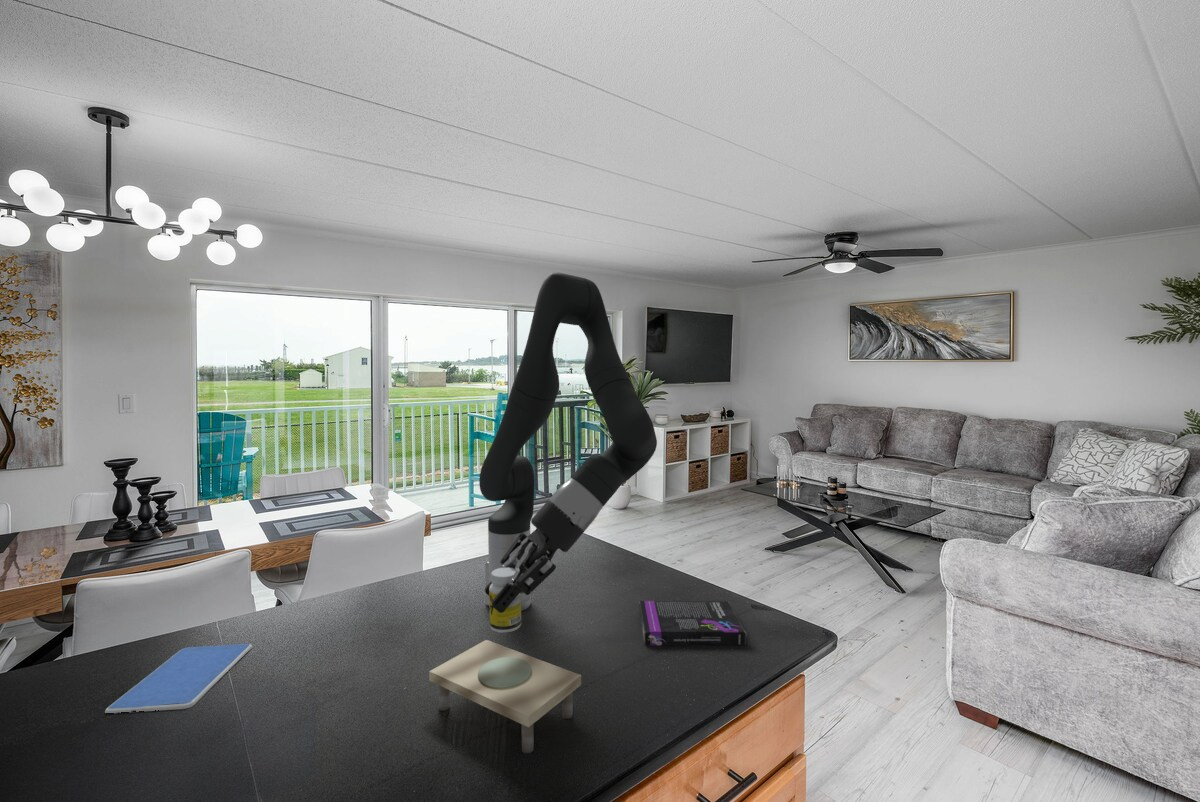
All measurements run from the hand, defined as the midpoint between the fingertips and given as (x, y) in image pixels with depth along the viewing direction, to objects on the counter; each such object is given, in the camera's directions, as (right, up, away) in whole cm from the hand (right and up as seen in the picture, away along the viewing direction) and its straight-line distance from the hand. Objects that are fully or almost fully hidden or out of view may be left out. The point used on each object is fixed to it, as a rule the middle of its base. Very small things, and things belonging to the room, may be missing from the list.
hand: (492, 601), depth 82 cm
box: (+34, -17, +29) cm, 48 cm away
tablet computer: (-54, -18, +11) cm, 58 cm away
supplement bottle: (+2, -4, +1) cm, 5 cm away
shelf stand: (+2, -17, +2) cm, 18 cm away
